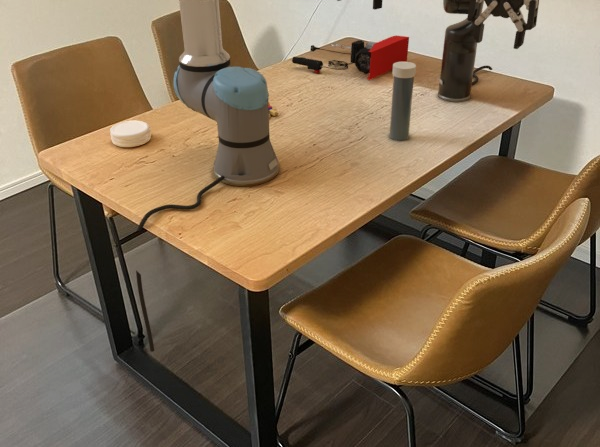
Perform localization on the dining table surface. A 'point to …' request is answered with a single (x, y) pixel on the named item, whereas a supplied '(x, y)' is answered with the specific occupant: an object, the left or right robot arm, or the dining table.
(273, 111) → the toy figure
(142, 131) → the white round container
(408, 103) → the grey cylinder
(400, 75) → the lid
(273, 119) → the dining table surface
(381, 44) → the electric hoist
